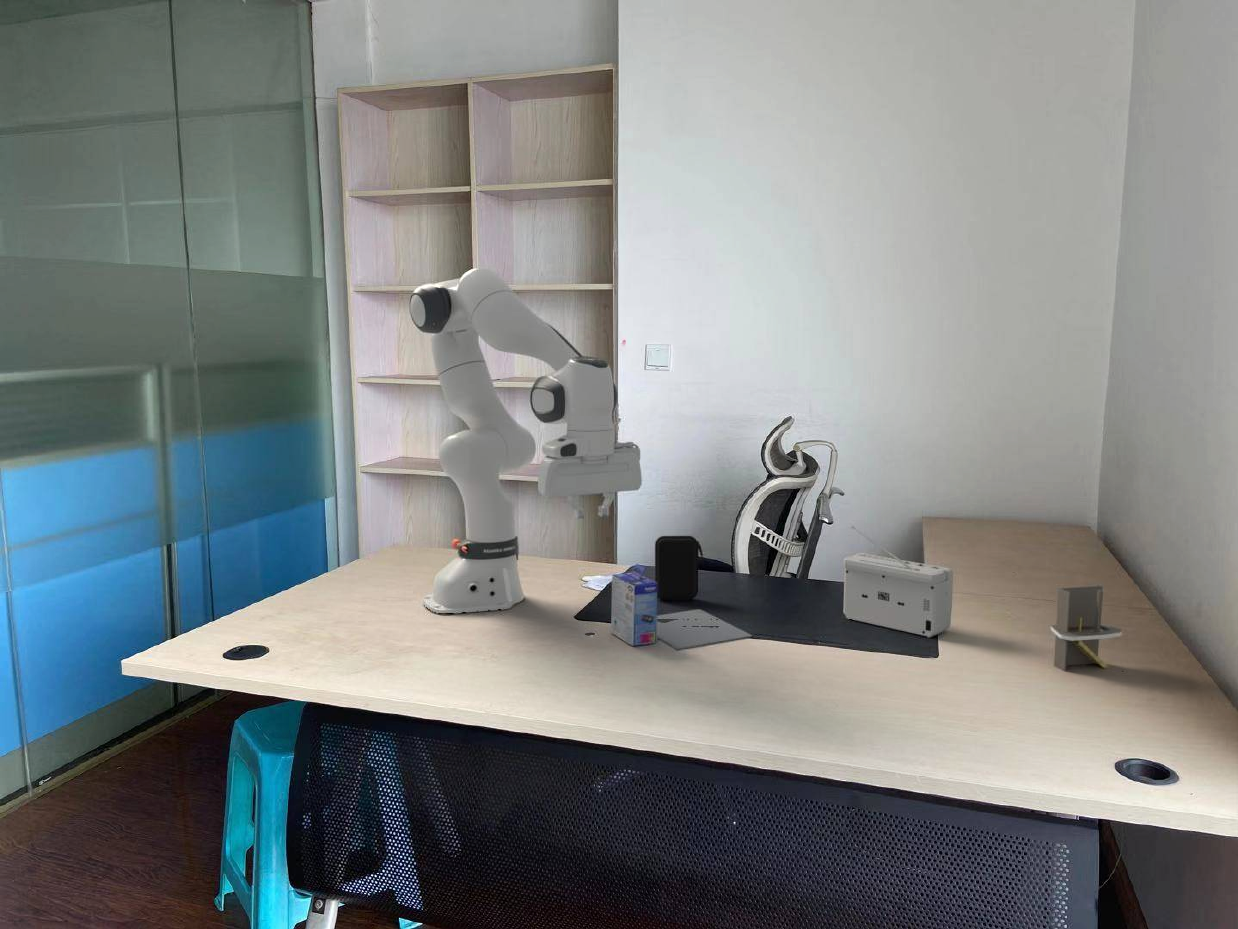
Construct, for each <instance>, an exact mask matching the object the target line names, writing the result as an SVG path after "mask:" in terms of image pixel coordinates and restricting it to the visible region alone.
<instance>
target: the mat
mask: <svg viewBox="0 0 1238 929" xmlns="http://www.w3.org/2000/svg"><path fill="white" fill-rule="evenodd" d="M657 619H678V620H673V621H670V622H667V623H661V622H658V621H657V634H656V639H658V640H659V641H661V642H663V643H665V644H666V645H667V646H670V647H671V648H673V649H674V650H676V651H681V650H687V649H691V648H698V647H702V646H703V647H704V646H708V645H714V644H720V643H725V642H731V641H737V640H741V639H742V640H744V639H748V638H752V637H753V635H752V634H750V633H748V632H746V631H745V630H742V629H740V628H738V627H736V626H734V625H732V624H731V623H728V622H727V621H724V620H722V619H720V618H719V617H716V616H715V615H712V614H710V613H708V612H706V611H705V610H702V609H700V608H699V609H698V608H697V609H691V610H686V611H679V612H673V613H672V612H671V613H665V614H659V615H657ZM683 619H684V620H683ZM687 619H689V620H687ZM695 619H697V620H695ZM711 619H712V620H711ZM716 619H718V620H716ZM683 626H686V627H683ZM692 626H699V627H692ZM701 626H719V627H718V628H716V627H713V628H710V627H701Z"/></svg>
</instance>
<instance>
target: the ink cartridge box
mask: <svg viewBox="0 0 1238 929" xmlns="http://www.w3.org/2000/svg"><path fill="white" fill-rule="evenodd" d="M637 569H639V570H640V573H639V572H637ZM645 570H646V567H645V566H644V565H643V566H642V565H640V564H639V563H635V565H634V567H633V569H632V571H631V572H624V573H622V572H620V573H616V574H612V576H611V580H612V581H611V614H610V616H611V617H610V618H611V622H610V624H611V625H610V632H611V634H613V635H614V636H616V637H618V638H619V639H620V640H623V641H624V642H625V643H627V644H628V645H630V646H632V647H637V646H643V645H644V646H645V645H652V644H653V645H655V644H656V643H657V638H656V634H657V616H658V597H657V582H655V580H652V579H650V578H649V577H648V578H647V577H645V576H643V575H644V572H645Z"/></svg>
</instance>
